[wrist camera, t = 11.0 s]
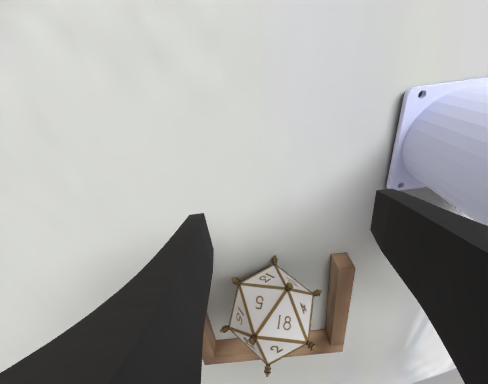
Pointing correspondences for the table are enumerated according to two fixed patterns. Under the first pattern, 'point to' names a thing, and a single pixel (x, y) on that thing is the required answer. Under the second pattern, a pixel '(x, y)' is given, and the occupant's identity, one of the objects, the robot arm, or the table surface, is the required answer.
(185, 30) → the table surface
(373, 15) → the table surface
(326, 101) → the table surface
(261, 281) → the game die
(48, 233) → the table surface
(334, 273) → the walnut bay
